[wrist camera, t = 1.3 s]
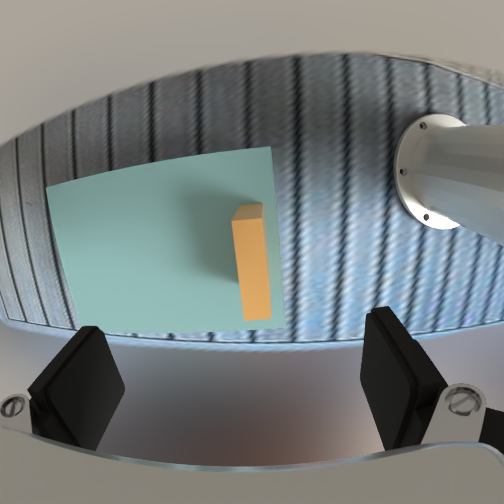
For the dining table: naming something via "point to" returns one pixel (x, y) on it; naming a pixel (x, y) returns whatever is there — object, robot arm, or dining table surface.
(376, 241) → the dining table surface
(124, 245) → the lid
